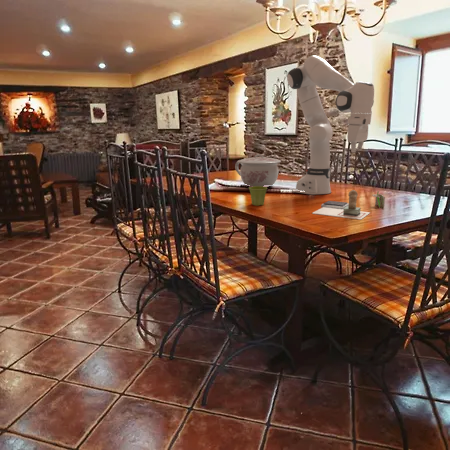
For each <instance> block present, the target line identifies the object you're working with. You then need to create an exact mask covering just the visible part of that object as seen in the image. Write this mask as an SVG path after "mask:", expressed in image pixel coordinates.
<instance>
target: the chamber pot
mask: <svg viewBox="0 0 450 450" xmlns="http://www.w3.org/2000/svg"><path fill="white" fill-rule="evenodd" d="M281 162H282V160H280V159H277V158H273V157H265V156H264V155H262V154H256V155H254V157H249V158H248V157H247V158H243V159H239V160H237V161H236V162H235V166H234V168H235V171H236V173H237V174H238V175H239V176H240V179H241V181H242V183H243V184H244V185H245V184H247V185H250V186H264V185H273V184H274V185H275V183H276V182H277V180H278V176H279V166H278V164H279V163H281ZM239 164H240V165H241V166H240V169H239ZM274 185H273V186H274Z"/></svg>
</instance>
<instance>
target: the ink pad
mask: <svg viewBox="0 0 450 450" xmlns="http://www.w3.org/2000/svg"><path fill="white" fill-rule="evenodd" d="M347 206H349V202H345V201H336V200H335V201H334V200H328V201H325V202H324V203H322V204H321V205H320V208H323V207H326V208H335V209H344V208H345V207H347Z"/></svg>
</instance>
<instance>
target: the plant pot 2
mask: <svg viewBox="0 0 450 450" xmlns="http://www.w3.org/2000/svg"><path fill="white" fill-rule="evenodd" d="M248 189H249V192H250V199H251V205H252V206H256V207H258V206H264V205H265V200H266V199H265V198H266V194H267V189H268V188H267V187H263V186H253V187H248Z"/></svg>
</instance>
